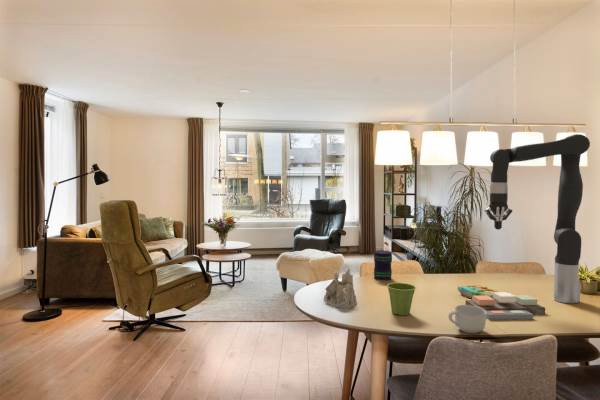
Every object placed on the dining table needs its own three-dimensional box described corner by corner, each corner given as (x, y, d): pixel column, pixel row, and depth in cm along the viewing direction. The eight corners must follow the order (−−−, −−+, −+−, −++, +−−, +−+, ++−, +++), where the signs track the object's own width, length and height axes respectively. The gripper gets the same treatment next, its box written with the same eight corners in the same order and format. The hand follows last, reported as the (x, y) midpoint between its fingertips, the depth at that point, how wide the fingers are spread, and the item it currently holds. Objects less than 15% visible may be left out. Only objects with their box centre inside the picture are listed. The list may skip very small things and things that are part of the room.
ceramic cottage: (328, 295, 199) (329, 264, 197) (362, 301, 192) (362, 269, 190) (315, 306, 185) (315, 273, 183) (350, 312, 178) (351, 278, 176)
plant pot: (402, 319, 164) (403, 291, 164) (380, 312, 174) (380, 285, 173) (421, 314, 171) (422, 286, 171) (399, 307, 181) (399, 281, 180)
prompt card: (525, 315, 170) (525, 309, 170) (533, 319, 165) (533, 313, 165) (482, 315, 169) (482, 310, 169) (488, 319, 164) (488, 313, 164)
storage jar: (370, 277, 237) (370, 251, 236) (383, 275, 241) (384, 250, 241) (381, 281, 228) (381, 254, 227) (395, 279, 233) (395, 252, 232)
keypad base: (528, 305, 184) (528, 299, 184) (545, 313, 172) (545, 307, 172) (465, 305, 183) (465, 300, 183) (478, 314, 171) (478, 308, 171)
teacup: (477, 325, 158) (478, 304, 158) (492, 335, 147) (492, 313, 147) (441, 325, 157) (441, 304, 157) (453, 336, 147) (453, 313, 146)
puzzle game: (477, 283, 206) (509, 293, 186) (477, 292, 206) (509, 304, 187) (457, 285, 202) (487, 295, 183) (457, 294, 202) (487, 306, 183)
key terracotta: (487, 300, 180) (487, 295, 180) (494, 305, 174) (494, 299, 174) (472, 301, 180) (472, 295, 180) (479, 305, 173) (479, 299, 173)
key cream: (507, 297, 180) (507, 292, 180) (516, 302, 174) (516, 296, 174) (492, 297, 180) (493, 292, 180) (500, 302, 174) (500, 296, 174)
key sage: (528, 300, 181) (528, 295, 181) (537, 305, 174) (537, 299, 174) (513, 300, 181) (513, 295, 180) (521, 305, 174) (521, 299, 174)
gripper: (508, 192, 199) (507, 228, 200) (481, 192, 199) (480, 228, 200) (517, 192, 192) (516, 230, 193) (488, 192, 191) (487, 230, 192)
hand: (497, 229), depth 196 cm, fingers closed
